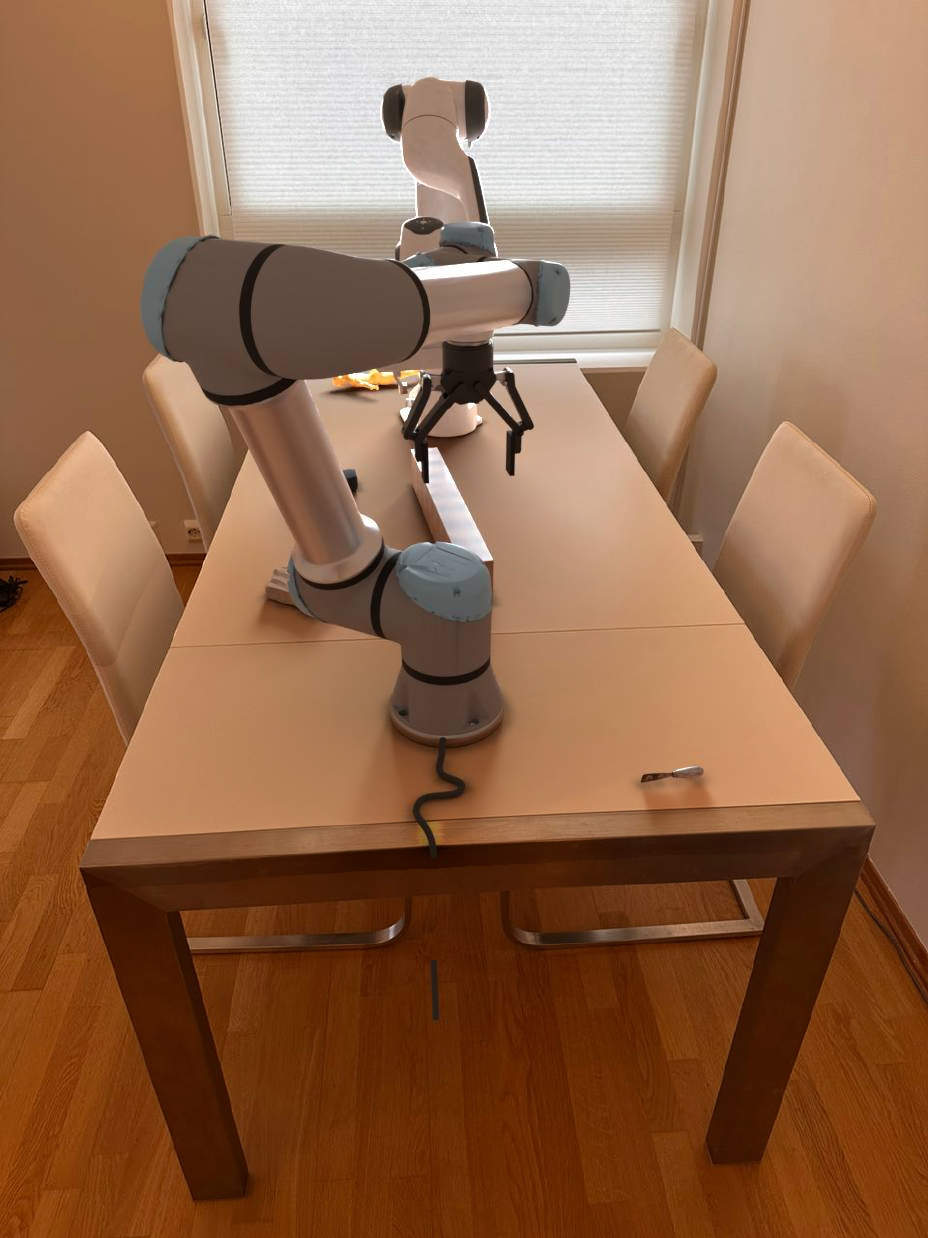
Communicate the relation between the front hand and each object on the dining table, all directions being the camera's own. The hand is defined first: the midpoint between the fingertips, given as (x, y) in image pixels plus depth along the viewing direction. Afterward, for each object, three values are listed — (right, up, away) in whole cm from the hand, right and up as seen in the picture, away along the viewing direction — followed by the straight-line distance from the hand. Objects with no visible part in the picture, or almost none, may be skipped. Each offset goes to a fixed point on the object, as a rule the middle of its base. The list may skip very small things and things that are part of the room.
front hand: (468, 476), depth 140 cm
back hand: (-7, +21, +28) cm, 36 cm away
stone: (-27, -19, +7) cm, 34 cm away
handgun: (-27, +1, +39) cm, 48 cm away
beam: (-4, -7, +26) cm, 27 cm away
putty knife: (+25, -42, -31) cm, 58 cm away
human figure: (-24, +42, +104) cm, 114 cm away
